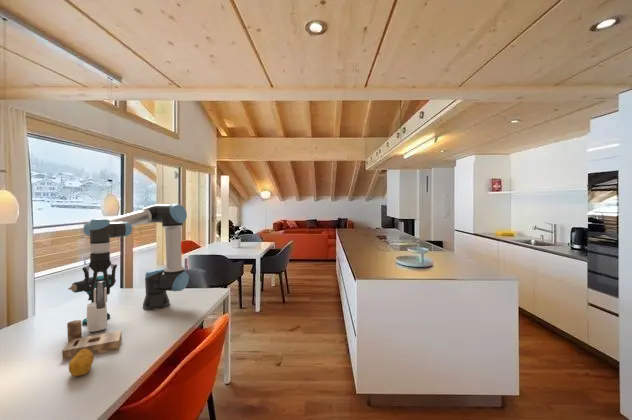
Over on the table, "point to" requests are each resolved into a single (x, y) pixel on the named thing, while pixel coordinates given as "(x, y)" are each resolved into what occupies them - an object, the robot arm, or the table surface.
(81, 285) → the power drill
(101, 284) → the grey metal peg
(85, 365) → the potato
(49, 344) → the table surface
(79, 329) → the walnut dowel
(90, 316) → the cup
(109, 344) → the socket block
